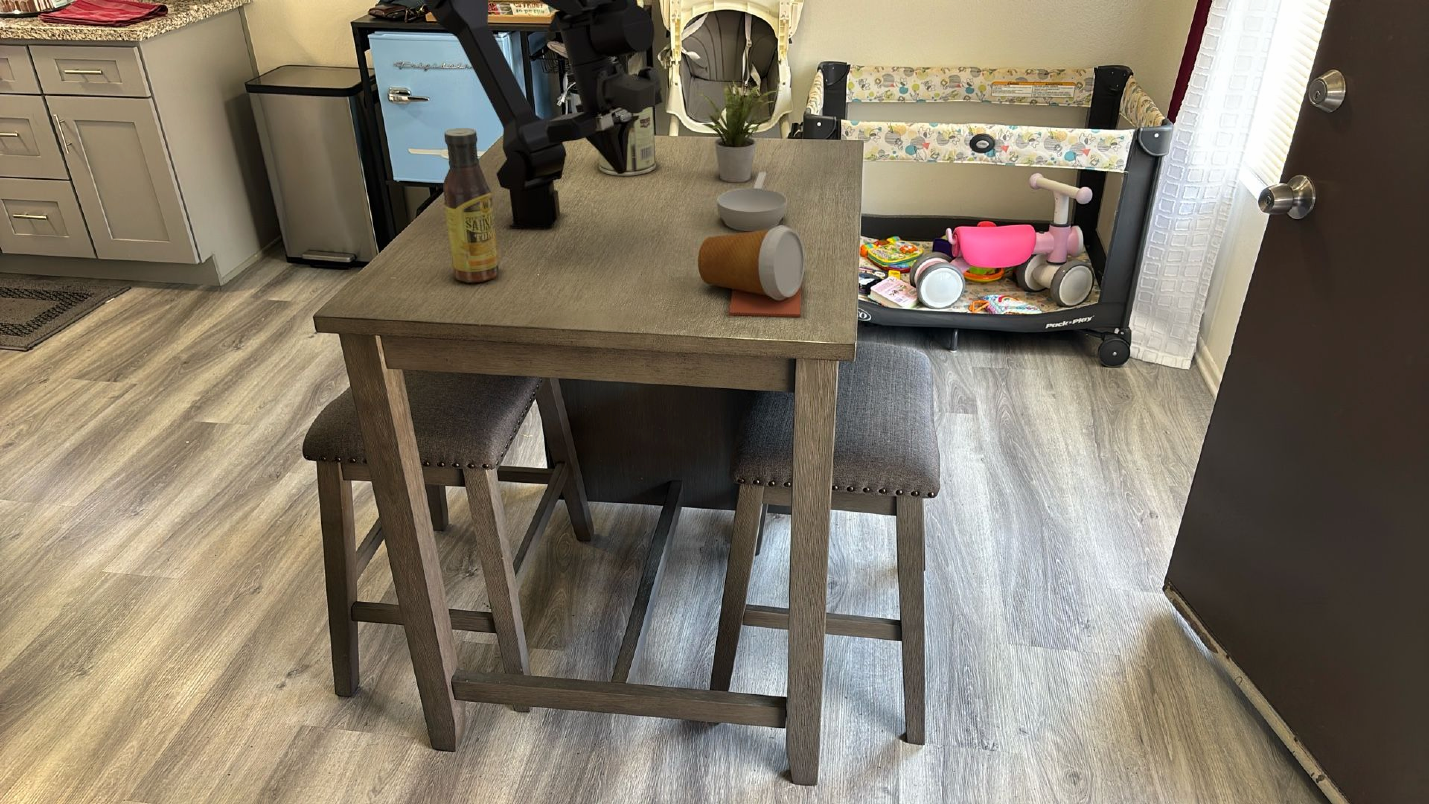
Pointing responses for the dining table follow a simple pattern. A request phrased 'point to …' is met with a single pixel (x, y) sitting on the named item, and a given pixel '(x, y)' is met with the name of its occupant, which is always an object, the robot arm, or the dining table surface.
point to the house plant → (736, 134)
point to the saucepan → (752, 207)
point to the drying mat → (764, 304)
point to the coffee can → (637, 147)
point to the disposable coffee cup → (755, 262)
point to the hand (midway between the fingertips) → (622, 173)
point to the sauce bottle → (469, 210)
